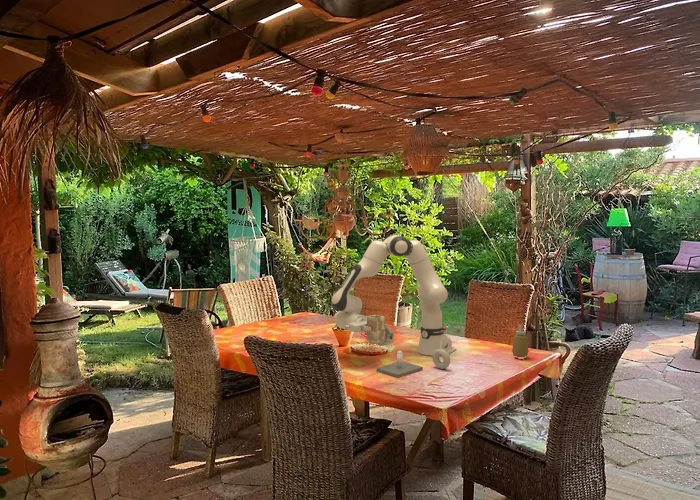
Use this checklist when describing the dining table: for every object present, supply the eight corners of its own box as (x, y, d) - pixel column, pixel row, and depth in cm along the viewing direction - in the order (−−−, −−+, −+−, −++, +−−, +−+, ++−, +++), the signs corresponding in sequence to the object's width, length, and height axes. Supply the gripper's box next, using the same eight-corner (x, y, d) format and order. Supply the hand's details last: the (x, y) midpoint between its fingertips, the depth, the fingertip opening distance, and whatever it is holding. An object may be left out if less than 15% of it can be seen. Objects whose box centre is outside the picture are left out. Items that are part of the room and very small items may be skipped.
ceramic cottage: (370, 345, 296) (371, 319, 296) (367, 339, 313) (368, 315, 312) (397, 346, 298) (398, 321, 297) (392, 340, 314) (394, 316, 314)
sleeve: (375, 338, 260) (375, 314, 259) (385, 340, 255) (385, 316, 254) (366, 340, 256) (366, 316, 255) (375, 342, 251) (375, 318, 250)
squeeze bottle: (527, 356, 272) (528, 323, 271) (528, 361, 265) (529, 326, 263) (511, 355, 275) (512, 322, 273) (512, 359, 267) (513, 325, 266)
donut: (430, 367, 255) (431, 347, 254) (435, 366, 257) (435, 346, 256) (447, 371, 247) (447, 351, 246) (451, 370, 250) (451, 350, 249)
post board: (401, 363, 261) (401, 344, 260) (422, 369, 250) (422, 350, 250) (376, 371, 249) (376, 351, 248) (397, 377, 238) (397, 357, 238)
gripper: (342, 320, 257) (361, 324, 247) (372, 314, 271) (391, 318, 261) (343, 332, 258) (362, 337, 248) (372, 326, 271) (391, 330, 261)
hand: (377, 327), depth 254 cm, fingers closed on sleeve, 6 cm apart
